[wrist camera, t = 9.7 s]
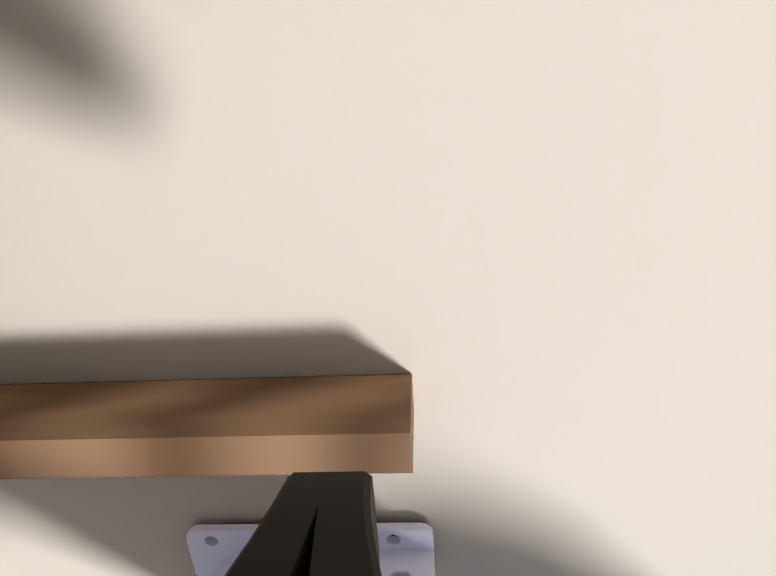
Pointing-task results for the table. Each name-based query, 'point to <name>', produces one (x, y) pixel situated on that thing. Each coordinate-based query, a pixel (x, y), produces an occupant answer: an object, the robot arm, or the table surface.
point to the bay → (207, 427)
